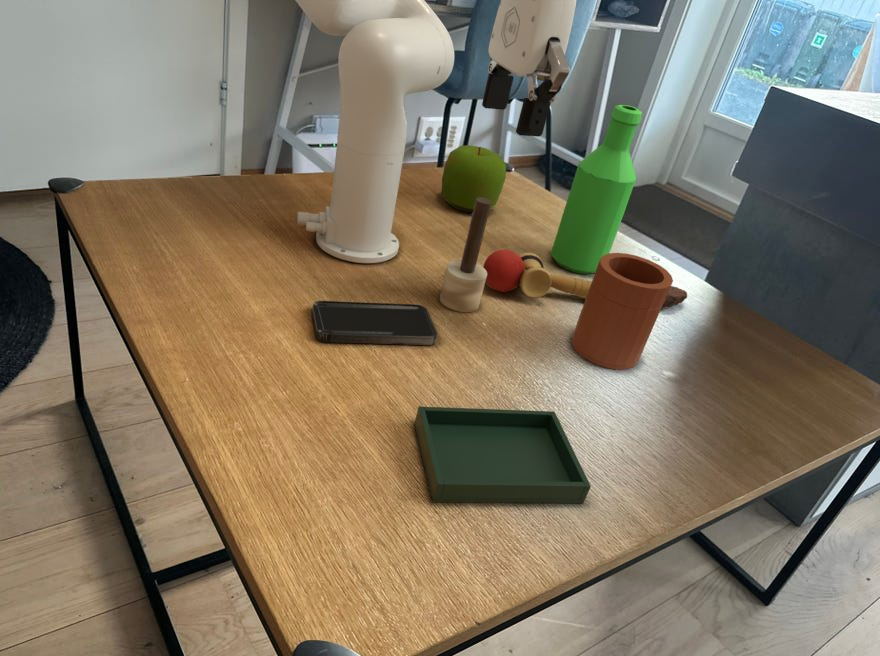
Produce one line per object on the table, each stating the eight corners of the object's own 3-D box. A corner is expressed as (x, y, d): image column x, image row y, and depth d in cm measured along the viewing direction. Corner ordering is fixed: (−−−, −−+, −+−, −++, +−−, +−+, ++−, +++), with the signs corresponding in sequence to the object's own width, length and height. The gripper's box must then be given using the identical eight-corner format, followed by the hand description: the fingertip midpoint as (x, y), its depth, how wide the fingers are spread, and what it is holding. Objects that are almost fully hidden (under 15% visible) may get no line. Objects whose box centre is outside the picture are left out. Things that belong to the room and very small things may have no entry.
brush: (443, 310, 95) (467, 207, 87) (436, 290, 100) (458, 189, 91) (483, 313, 96) (510, 211, 88) (474, 292, 101) (499, 193, 92)
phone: (312, 300, 89) (425, 304, 93) (311, 307, 90) (424, 311, 94) (318, 334, 83) (439, 338, 87) (317, 342, 84) (437, 345, 88)
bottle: (603, 281, 111) (662, 122, 97) (549, 268, 111) (599, 108, 97) (601, 258, 118) (656, 107, 104) (550, 246, 119) (597, 94, 105)
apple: (505, 219, 125) (521, 160, 119) (447, 216, 122) (461, 155, 116) (485, 194, 134) (498, 138, 128) (431, 191, 131) (442, 132, 125)
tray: (433, 502, 66) (437, 484, 64) (414, 423, 75) (418, 406, 73) (583, 503, 69) (591, 486, 67) (548, 427, 78) (554, 411, 76)
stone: (632, 301, 106) (640, 283, 105) (644, 285, 112) (652, 268, 110) (675, 319, 104) (683, 300, 102) (685, 301, 110) (693, 284, 108)
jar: (585, 367, 89) (616, 285, 82) (562, 329, 96) (589, 250, 90) (649, 371, 91) (685, 290, 84) (622, 332, 98) (653, 255, 91)
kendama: (583, 292, 109) (474, 264, 105) (603, 261, 105) (491, 230, 101) (592, 326, 104) (478, 297, 100) (614, 294, 99) (495, 263, 96)
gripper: (486, -57, 80) (455, 97, 90) (558, -32, 67) (513, 145, 77) (543, -48, 82) (507, 101, 92) (624, -22, 69) (572, 148, 79)
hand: (510, 121), depth 84 cm, fingers open, 9 cm apart
